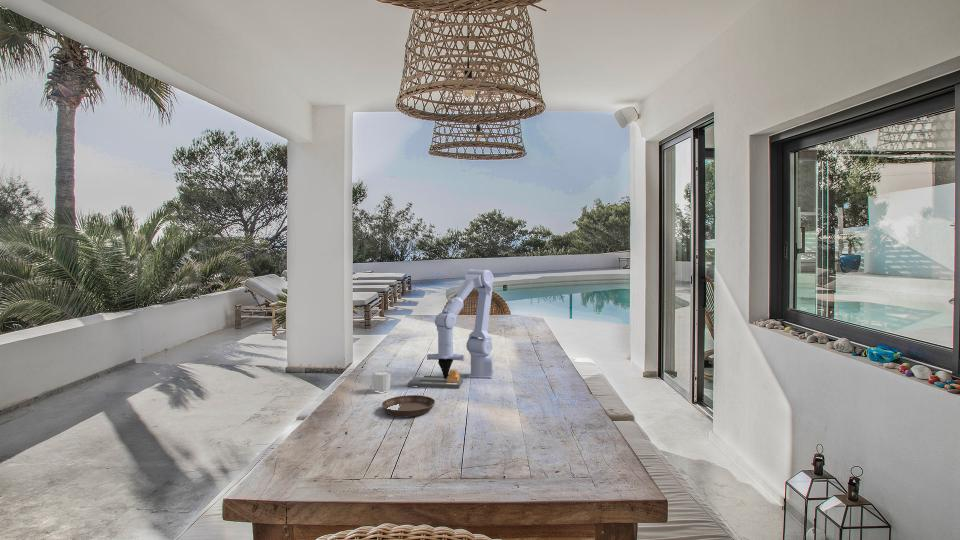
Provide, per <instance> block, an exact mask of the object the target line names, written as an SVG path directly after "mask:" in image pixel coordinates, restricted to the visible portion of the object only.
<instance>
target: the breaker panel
mask: <svg viewBox="0 0 960 540" xmlns="http://www.w3.org/2000/svg"><path fill="white" fill-rule="evenodd" d="M463 383H464V378H463V377H460V379H459V381H458V382H447V379H444V378H433V377H424V376H422V377H421V376H413V378H411V379H410V380H409V382H407V387H408V386H417V387H416V388H421V387H431V388H432V389H457V390H459V389H460V388H461V386H462V385H463ZM431 388H430V389H431Z"/></svg>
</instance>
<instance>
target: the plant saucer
mask: <svg viewBox="0 0 960 540" xmlns="http://www.w3.org/2000/svg"><path fill="white" fill-rule="evenodd" d="M435 403H436V400H435V399H434V398H433V397H430V396H426V395H421V394H420V395H418V394H412V395H411V394H410V395H408V394H407V395H400V396H394V397H391V398H388V399H385V400H384V401H383V402H382V403H381V406H382V408H383V409H384V411H385V412H386V413H387V414H389V415H390V414H392V415H391V416H393V415H395V416H394V417H398V416H413V417H418V416H417V415H419V416H422V414H423V415H425V414H427V413H429V412H430V411H431V410H432V409H433V407H434V406H435ZM397 404H399V406H400V405H401V406H400V408H399V409H398V410H391V409H387V408H388V407H390V406H393V405H397Z"/></svg>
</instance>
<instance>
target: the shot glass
mask: <svg viewBox="0 0 960 540" xmlns="http://www.w3.org/2000/svg"><path fill="white" fill-rule="evenodd" d="M391 378H392V372H391V371H386V370H383V371H382V370H381V371H375V372H372V383H373V389H374V390H375V391H379V392H384V391H389V390H390V389H391V388H390V387H391ZM375 391H374V392H375ZM389 392H390V391H389Z"/></svg>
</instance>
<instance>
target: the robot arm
mask: <svg viewBox="0 0 960 540" xmlns="http://www.w3.org/2000/svg"><path fill="white" fill-rule="evenodd" d="M493 285H494V275H493V272H492V271H491V270H489V269H474V268H470V269H469V270H468V271H467V272H466V274H465V275H464V281H463V284H462V285H461V287H460V289H459V291H458V292H457V294H456V296H455V297H451V298H450V299H449V300H448V303H447V304H446V306H445V307H444V308H443V310H442V311H441V312H440V313H438V314H437V315H436V316H435V319H434V324H435V326H436V330H437V351H438V353H427V355H426V360H427V361H431V360H432V361H433V360H436V361H437V363H438V365H439V368H440V370H441V372H442V376H443V377H444V379H447V376H448V375H449V371H450V370H451V367H452V364H453V362H454V361H465V354H457V353H454V341H453V340H454V338H453V337H454V333H453V331H454V330H453V329H454V327H455V326H456V323H457V319H458V316H459V314H460V313H461V311H462V309H463V308H464V301H465V300H466V299H467V297H468V296H469V295H470V293H471V292H472V291H473V290H474V289H475V290H476V291H477V292H478V298H477V306H476V314H475V320H474V329H473V331H471V332H470V333H469V336H468V339H467V340H466V344H465V345H466V350H467V351H468V352H469V355H470V374H469V375H468V378H475V379H476V378H478V379H479V378H480V379H491V378H492V377H493V375H494V374H495V371H494V369H495V368H494V355H493V354H490V353H491V352H492V350H493V343H492V341H493V340H492V339H493V337H492V335H490V333H488V329H489V328H488V327H489V319H490V313H491V312H490V311H491V304H492V303H491V302H492V297H493V296H492V295H493Z"/></svg>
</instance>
